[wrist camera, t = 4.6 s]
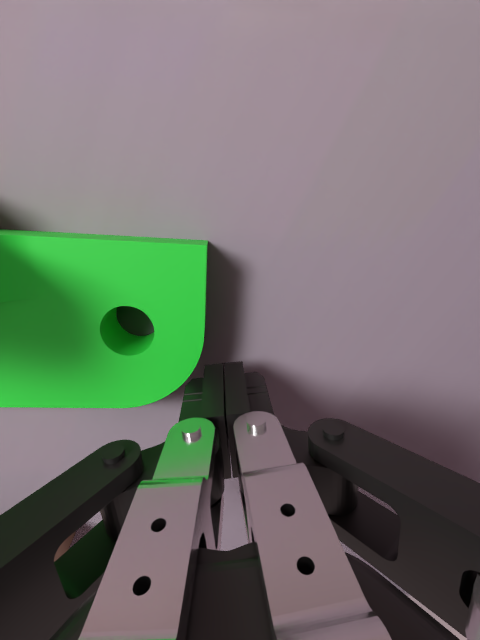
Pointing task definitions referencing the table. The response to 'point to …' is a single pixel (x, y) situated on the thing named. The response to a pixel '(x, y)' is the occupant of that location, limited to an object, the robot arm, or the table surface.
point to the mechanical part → (97, 318)
